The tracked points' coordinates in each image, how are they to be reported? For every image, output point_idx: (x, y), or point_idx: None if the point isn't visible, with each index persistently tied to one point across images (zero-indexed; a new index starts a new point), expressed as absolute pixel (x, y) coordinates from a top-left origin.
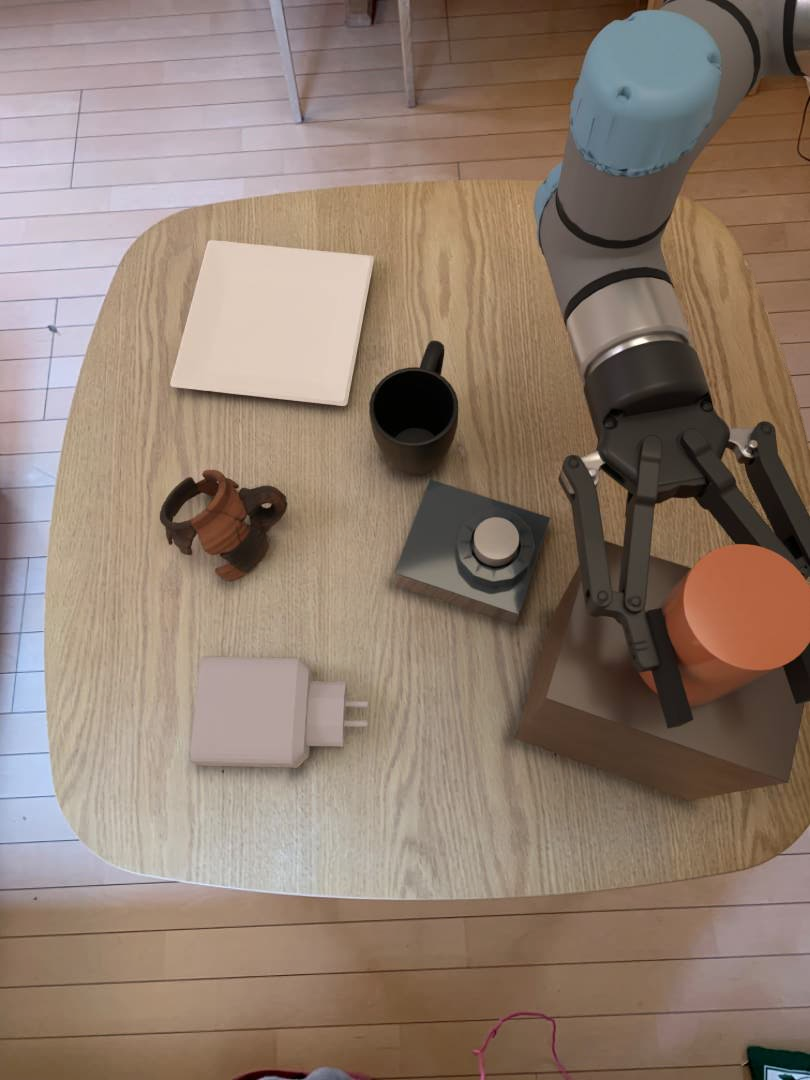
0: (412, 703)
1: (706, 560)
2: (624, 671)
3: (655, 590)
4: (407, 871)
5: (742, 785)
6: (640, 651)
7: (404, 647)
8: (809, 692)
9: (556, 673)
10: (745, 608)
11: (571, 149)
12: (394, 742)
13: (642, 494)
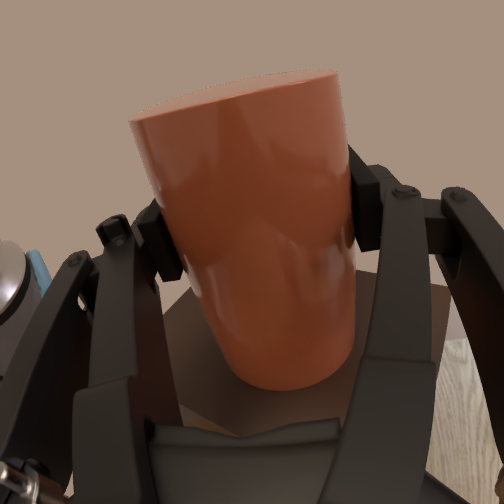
0: (474, 445)
1: (279, 84)
2: (367, 315)
3: (309, 410)
4: (461, 347)
5: None
6: (384, 172)
7: (482, 485)
8: None
9: (445, 307)
10: (239, 84)
11: None
12: (483, 417)
13: (415, 370)
